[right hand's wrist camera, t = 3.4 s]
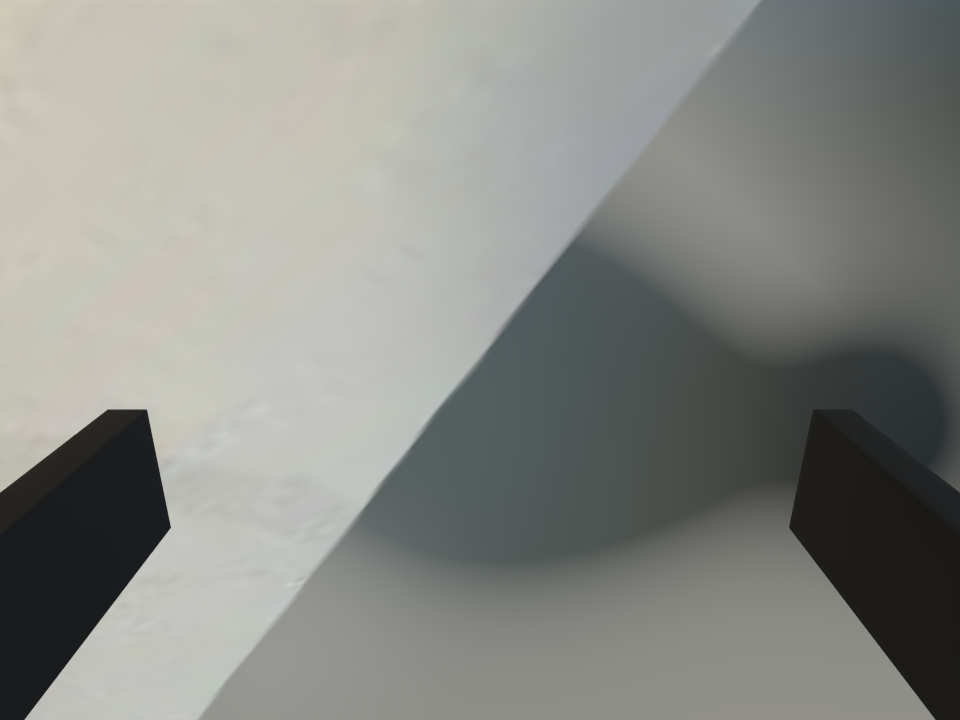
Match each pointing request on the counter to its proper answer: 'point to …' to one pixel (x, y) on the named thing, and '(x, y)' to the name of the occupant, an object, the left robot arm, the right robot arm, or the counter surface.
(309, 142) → the counter surface
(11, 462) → the counter surface
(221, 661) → the counter surface
